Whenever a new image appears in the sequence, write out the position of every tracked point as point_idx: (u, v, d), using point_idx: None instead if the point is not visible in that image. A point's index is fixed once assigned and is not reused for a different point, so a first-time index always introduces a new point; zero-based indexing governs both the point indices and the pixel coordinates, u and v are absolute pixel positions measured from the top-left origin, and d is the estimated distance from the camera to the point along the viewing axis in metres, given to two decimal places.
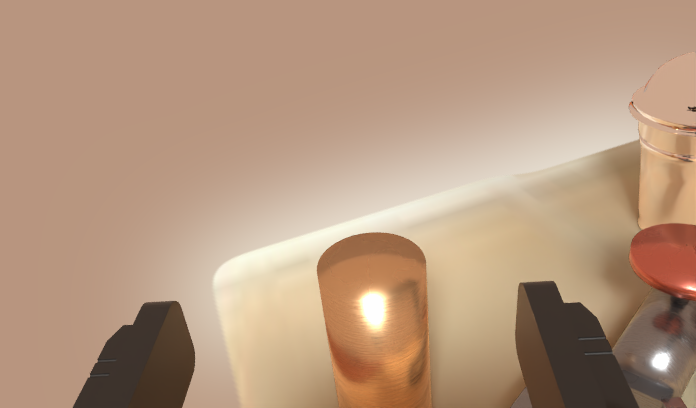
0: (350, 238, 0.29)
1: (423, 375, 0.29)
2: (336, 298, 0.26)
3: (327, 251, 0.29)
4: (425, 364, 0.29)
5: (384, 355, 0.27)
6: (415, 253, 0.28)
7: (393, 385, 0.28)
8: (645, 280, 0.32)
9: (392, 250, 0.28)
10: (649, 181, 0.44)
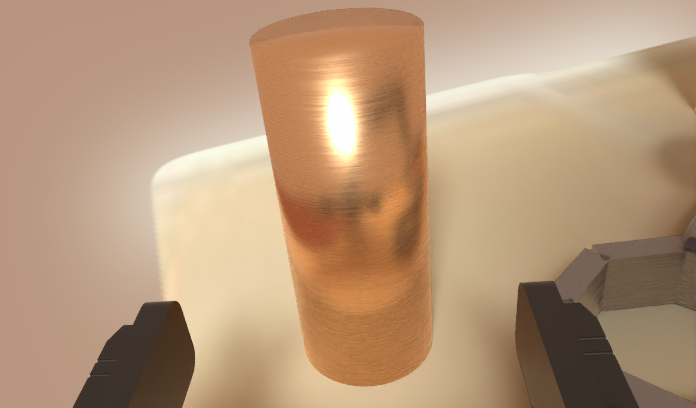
0: (308, 16, 0.19)
1: (418, 226, 0.19)
2: (276, 65, 0.16)
3: (270, 25, 0.18)
4: (422, 208, 0.19)
5: (355, 173, 0.17)
6: (407, 19, 0.17)
7: (370, 232, 0.18)
8: None
9: (371, 19, 0.18)
10: None
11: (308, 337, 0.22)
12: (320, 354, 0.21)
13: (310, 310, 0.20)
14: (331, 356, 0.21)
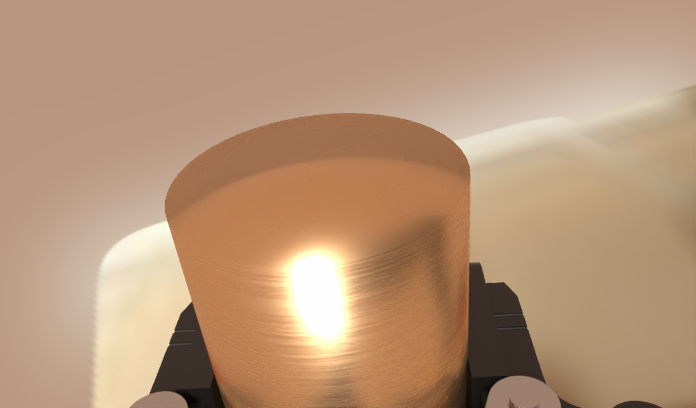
0: (275, 127, 0.12)
1: None
2: (203, 265, 0.09)
3: (210, 151, 0.11)
4: None
5: None
6: (439, 149, 0.10)
7: None
8: None
9: (377, 145, 0.11)
10: None
11: None
12: None
13: None
14: None
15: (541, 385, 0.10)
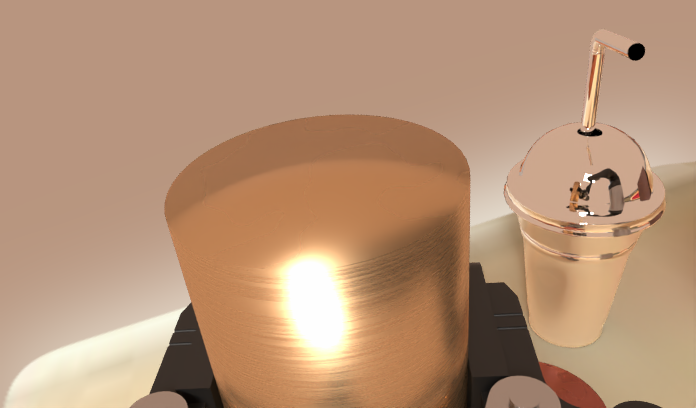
0: (275, 128, 0.12)
1: None
2: (202, 267, 0.08)
3: (210, 152, 0.11)
4: None
5: None
6: (439, 151, 0.10)
7: None
8: None
9: (377, 146, 0.11)
10: (531, 276, 0.36)
11: None
12: None
13: None
14: None
15: (541, 385, 0.10)
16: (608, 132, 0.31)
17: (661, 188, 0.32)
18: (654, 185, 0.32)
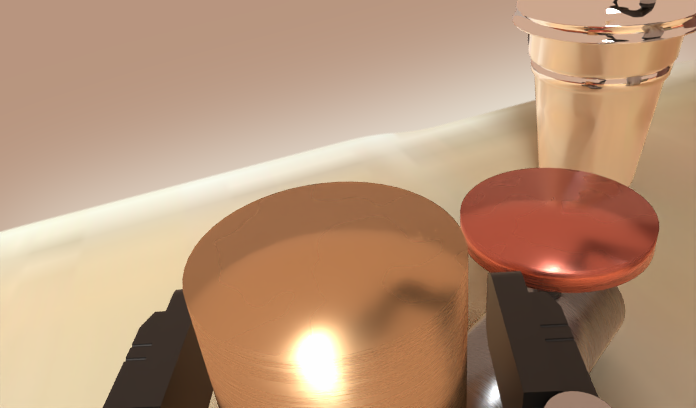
0: (284, 194, 0.13)
1: None
2: (220, 348, 0.09)
3: (223, 222, 0.12)
4: None
5: None
6: (439, 226, 0.11)
7: None
8: (473, 256, 0.19)
9: (381, 219, 0.11)
10: (545, 124, 0.30)
11: None
12: None
13: None
14: None
15: (598, 401, 0.10)
16: None
17: None
18: None
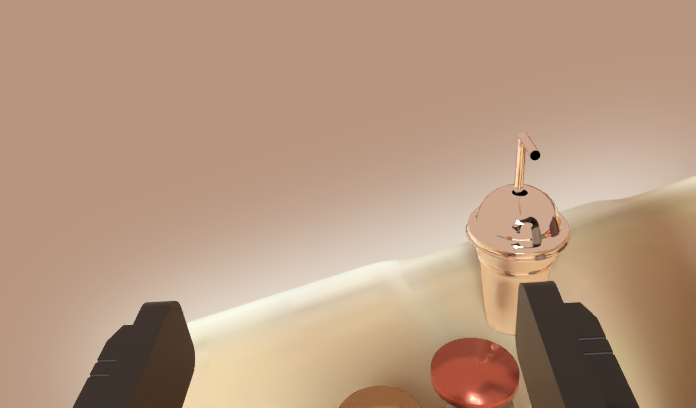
0: (361, 391, 0.35)
1: None
2: None
3: (342, 405, 0.34)
4: None
5: None
6: None
7: None
8: (436, 390, 0.41)
9: (396, 407, 0.34)
10: (485, 285, 0.53)
11: None
12: None
13: None
14: None
15: None
16: (531, 193, 0.48)
17: (566, 229, 0.49)
18: (562, 227, 0.49)
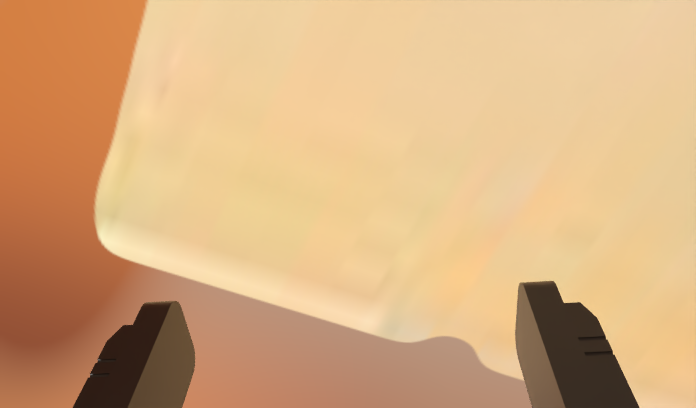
0: None
1: None
2: None
3: None
4: None
5: None
6: None
7: None
8: None
9: None
10: None
11: None
12: None
13: None
14: None
15: None
16: None
17: None
18: None
